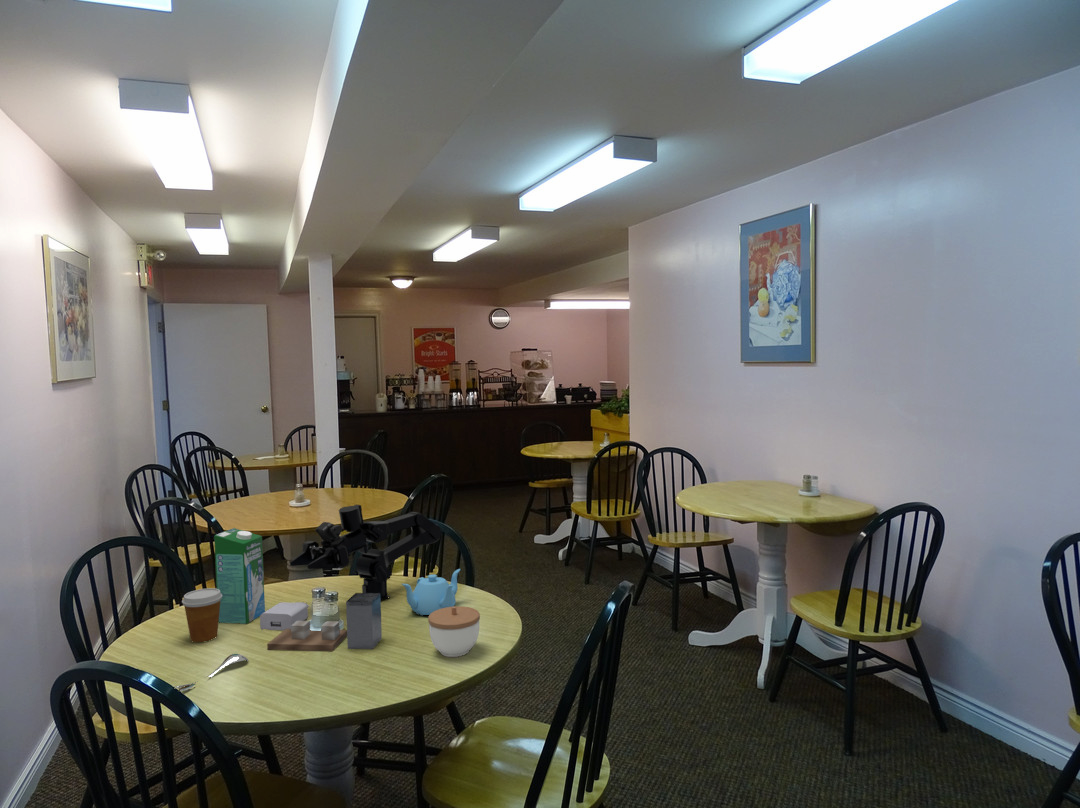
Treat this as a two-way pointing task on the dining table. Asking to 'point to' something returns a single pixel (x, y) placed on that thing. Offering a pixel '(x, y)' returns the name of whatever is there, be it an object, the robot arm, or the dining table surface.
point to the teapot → (432, 594)
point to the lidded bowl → (454, 630)
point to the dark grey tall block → (363, 620)
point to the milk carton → (239, 575)
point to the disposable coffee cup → (202, 613)
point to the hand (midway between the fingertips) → (298, 565)
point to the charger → (283, 615)
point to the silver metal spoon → (227, 661)
